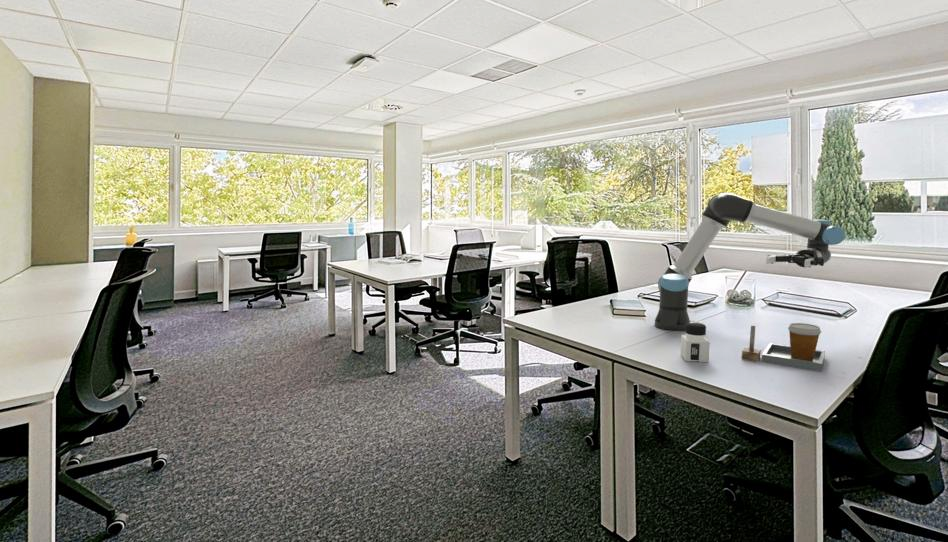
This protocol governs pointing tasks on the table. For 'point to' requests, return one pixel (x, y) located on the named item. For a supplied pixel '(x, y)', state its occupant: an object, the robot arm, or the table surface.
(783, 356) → the tray
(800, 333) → the disposable coffee cup
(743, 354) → the stand
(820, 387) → the table surface
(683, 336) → the container
